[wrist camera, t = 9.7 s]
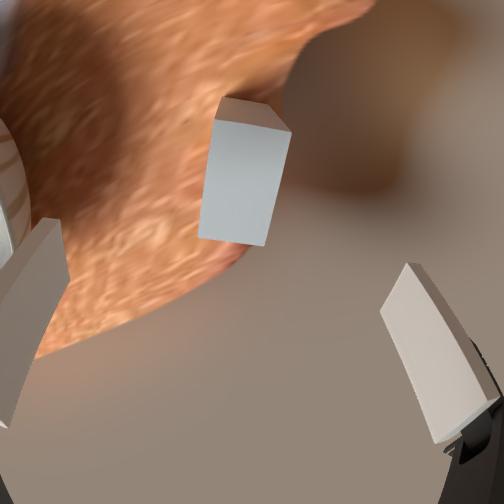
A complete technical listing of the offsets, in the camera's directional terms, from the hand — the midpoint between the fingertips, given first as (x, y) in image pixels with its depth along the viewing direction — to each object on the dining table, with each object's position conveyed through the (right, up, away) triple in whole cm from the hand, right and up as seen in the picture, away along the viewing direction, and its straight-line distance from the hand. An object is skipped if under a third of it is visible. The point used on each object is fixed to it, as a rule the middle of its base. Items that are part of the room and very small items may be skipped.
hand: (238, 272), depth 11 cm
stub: (-1, +11, +16) cm, 19 cm away
